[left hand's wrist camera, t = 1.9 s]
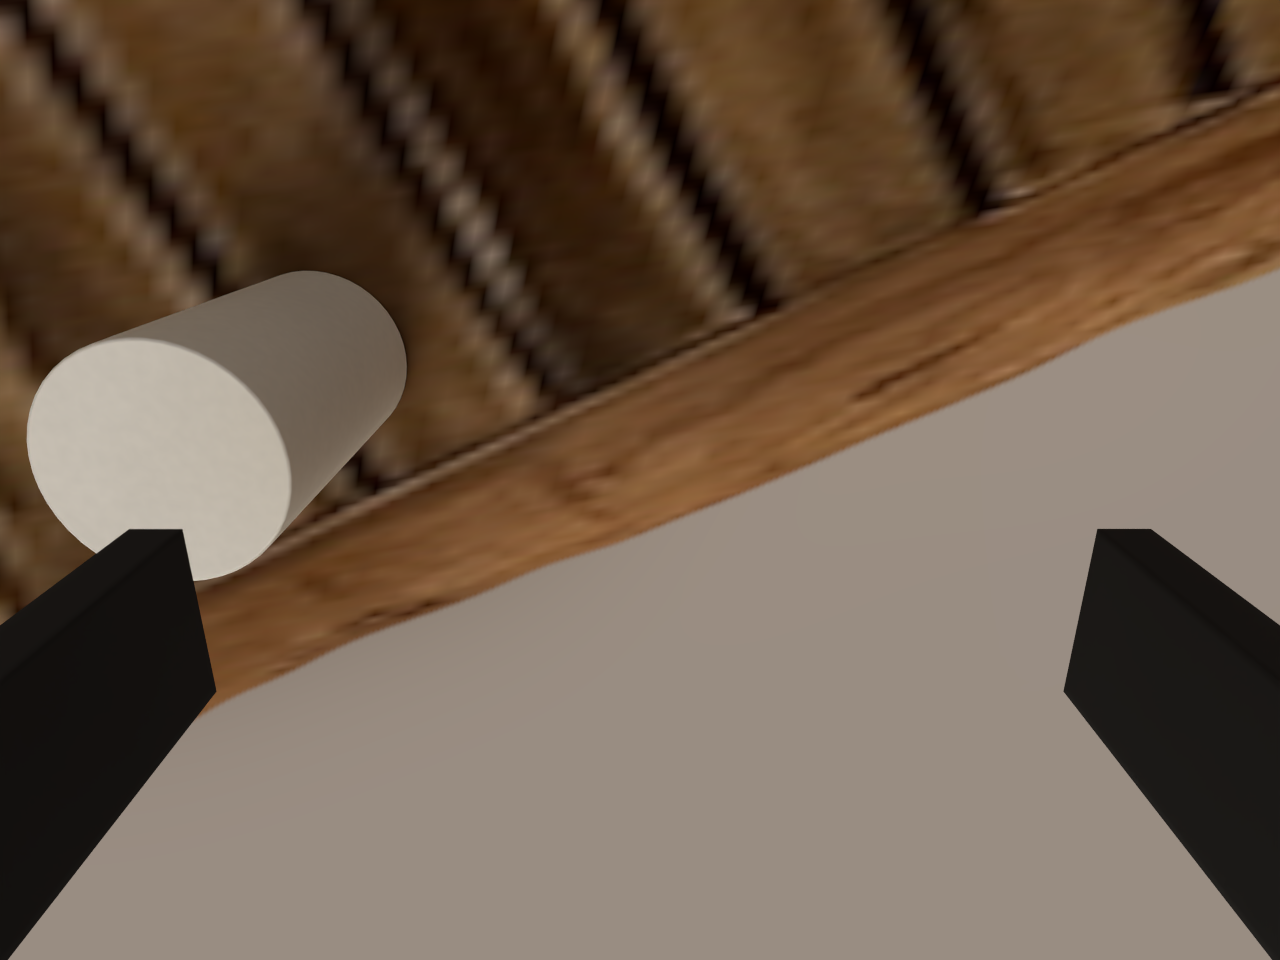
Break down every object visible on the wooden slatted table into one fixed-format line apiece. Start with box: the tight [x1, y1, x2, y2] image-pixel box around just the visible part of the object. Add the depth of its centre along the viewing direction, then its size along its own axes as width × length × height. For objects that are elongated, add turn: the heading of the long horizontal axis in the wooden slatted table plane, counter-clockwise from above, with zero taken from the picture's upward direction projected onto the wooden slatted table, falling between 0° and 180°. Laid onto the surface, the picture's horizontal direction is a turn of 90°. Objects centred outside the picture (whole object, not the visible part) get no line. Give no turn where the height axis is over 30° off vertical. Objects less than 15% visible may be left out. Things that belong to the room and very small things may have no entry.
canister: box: [27, 271, 407, 581], centre depth 27 cm, size 7×7×12 cm
